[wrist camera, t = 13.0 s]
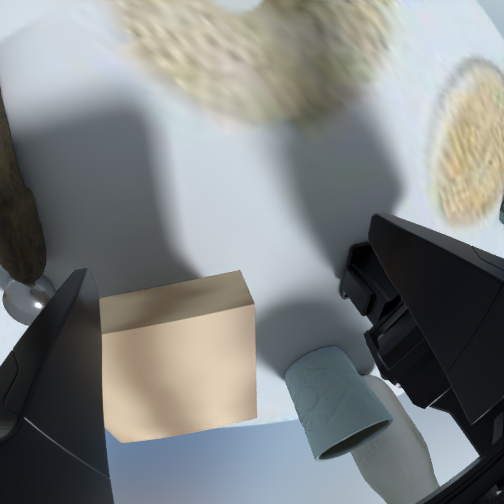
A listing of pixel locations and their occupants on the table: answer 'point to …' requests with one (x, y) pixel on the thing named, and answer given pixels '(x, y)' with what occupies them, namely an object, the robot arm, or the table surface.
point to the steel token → (27, 299)
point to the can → (502, 214)
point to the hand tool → (18, 217)
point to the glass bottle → (396, 454)
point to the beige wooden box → (178, 358)
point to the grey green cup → (334, 403)
